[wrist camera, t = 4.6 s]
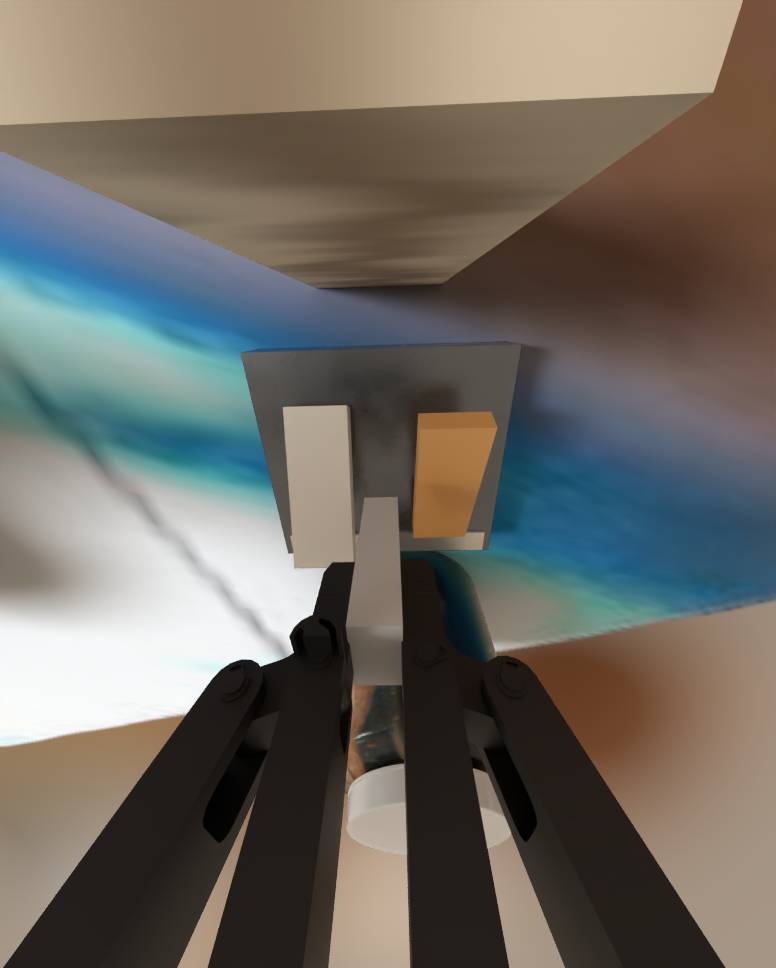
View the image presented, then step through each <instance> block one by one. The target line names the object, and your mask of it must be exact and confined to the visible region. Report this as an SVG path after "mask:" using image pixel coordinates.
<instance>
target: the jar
mask: <svg viewBox="0 0 776 968" xmlns="http://www.w3.org/2000/svg"><path fill="white" fill-rule="evenodd" d="M400 560H427V561H428V563H429V564H430V565H431V567H432V568H433V569H434V574H435V579H436V585H437V591H438V596H439V602H440V608H441V614H442V619H443V625H444V631H445V634H446V637H447V639H448V640H449V642H450V644H451V645H452V646H453V647H454V648H455V649H456V650H458V651H459V652H461V653H462V654H464V655H466V656H469V657H471V658H474V659H478V660H481V661H484V662H487V663H488V662H489V660H491V659H493V658H495V657H497V656H496V652H495V649H494V646H493V643H492V640H491V636H490V633H489V630H488V627H487V624H486V621H485V617H484V614H483V611H482V608H481V605H480V602H479V599H478V596H477V593H476V590H475V587H474V584H473V582H472V580H471V578H470V576H469V575H468V573H467V572H466V571H465V570H464V569H463V568H462V567H461V566H460V565H459V564H458V563H456V562H455V561H453V560H452V559H450V558H448V557H446V556H443V555H441V554H438V553H435V552H431V551H402V552H400ZM352 706H353V710H352V721H351V731H350V742H349V752H348V763H347V774H346V784H345V793H346V794H348V799H349V801H348V812H347V824H346V828H347V832H348V834H349V836H350V837H351V838H352V839H354V840H355V841H356V842H358V843H360V844H362V845H364V846H366V847H369V848H372V849H375V850H378V851H382V852H387V853H393V854H399V855H407V839H406V805H405V771H404V736H403V696H402V685H357V686H354V681H353V686H352ZM468 744H469V750H470V755H471V761H472V766H473V772H474V777H475V783H476V788H477V794H478V799H479V805H480V810H481V816H482V821H483V827H484V832H485V838H486V843H487V849H489V848H492V847H495V846H497V845H499V844H501V843H503V842H504V841H505V840H507V839H508V838H509V837H510V835H511V834H512V833H511V831H510V828H509V826H508V823H507V821H506V818H505V816H504V813H503V811H502V808H501V806H500V803H499V801H498V798H497V796H496V793H495V791H494V788H493V786H492V783H491V781H490V778H489V776H488V773H487V771H486V768H485V766H484V763H483V761H482V758H481V756H480V753H479V751H478V748H477V746H476V745H475V744H473V743H470V742H468Z"/></svg>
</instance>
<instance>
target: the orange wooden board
mask: <svg viewBox="0 0 776 968" xmlns="http://www.w3.org/2000/svg"><path fill="white" fill-rule="evenodd" d="M497 428H498V427H497V425H496V422H495V420H494V417H493V415H492V412H453V413H418V427H417V445H416V463H415V482H414V500H413V519H412V526H413V538H430V537H465V534H466V531H467V528H468V524H469V521H470V518H471V514H472V511H473V508H474V504H475V501H476V498H477V494H478V491H479V488H480V484H481V481H482V478H483V474H484V471H485V468H486V464H487V461H488V458H489V454H490V451H491V448H492V444H493V441H494V438H495V434H496V431H497Z"/></svg>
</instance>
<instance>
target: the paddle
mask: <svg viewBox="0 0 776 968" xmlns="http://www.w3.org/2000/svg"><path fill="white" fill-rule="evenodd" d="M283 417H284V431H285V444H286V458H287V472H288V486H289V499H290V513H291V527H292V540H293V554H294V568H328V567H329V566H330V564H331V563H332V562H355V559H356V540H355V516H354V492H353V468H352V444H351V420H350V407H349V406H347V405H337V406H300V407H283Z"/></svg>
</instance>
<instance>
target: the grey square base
mask: <svg viewBox="0 0 776 968" xmlns="http://www.w3.org/2000/svg"><path fill="white" fill-rule="evenodd" d="M521 346H522V344H518V343H512V342H507V341H504V342H471V343H439V344H406V345H374V346H341V347H309V348H276V349H256V350H251V351H246V352H242V353H241V357H242V361H243V365H244V369H245V374H246V378H247V382H248V386H249V390H250V394H251V399H252V403H253V407H254V411H255V415H256V420H257V424H258V428H259V432H260V436H261V441H262V445H263V449H264V453H265V457H266V461H267V466H268V470H269V474H270V478H271V482H272V487H273V491H274V495H275V499H276V503H277V507H278V512H279V516H280V520H281V524H282V528H283V533H284V537H285V541H286V545H287V549H288V553H293V540H292V527H291V513H290V499H289V486H288V472H287V458H286V444H285V431H284V417H283V407H300V406H337V405H347V406H349V407H350V420H351V444H352V468H353V492H354V516H355V540H356V552H357V545H358V538H359V532H360V525H361V518H362V511H363V504H364V498H372V497H398V520H399V544H400V552H402V551H459V550H488V546H489V540H490V534H491V528H492V522H493V516H494V509H495V503H496V497H497V491H498V485H499V479H500V473H501V467H502V461H503V455H504V449H505V443H506V437H507V431H508V425H509V418H510V412H511V406H512V400H513V394H514V388H515V382H516V376H517V370H518V364H519V358H520V352H521ZM453 412H492V415H493V417H494V420H495V422H496V425H497V427H498V428H497V431H496V434H495V438H494V441H493V444H492V448H491V451H490V454H489V458H488V461H487V464H486V468H485V471H484V474H483V478H482V481H481V484H480V488H479V491H478V494H477V498H476V501H475V504H474V508H473V511H472V514H471V518H470V521H469V524H468V528H467V531H466V534H465V537H430V538H413V526H412V519H413V500H414V482H415V463H416V445H417V427H418V413H453Z"/></svg>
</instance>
